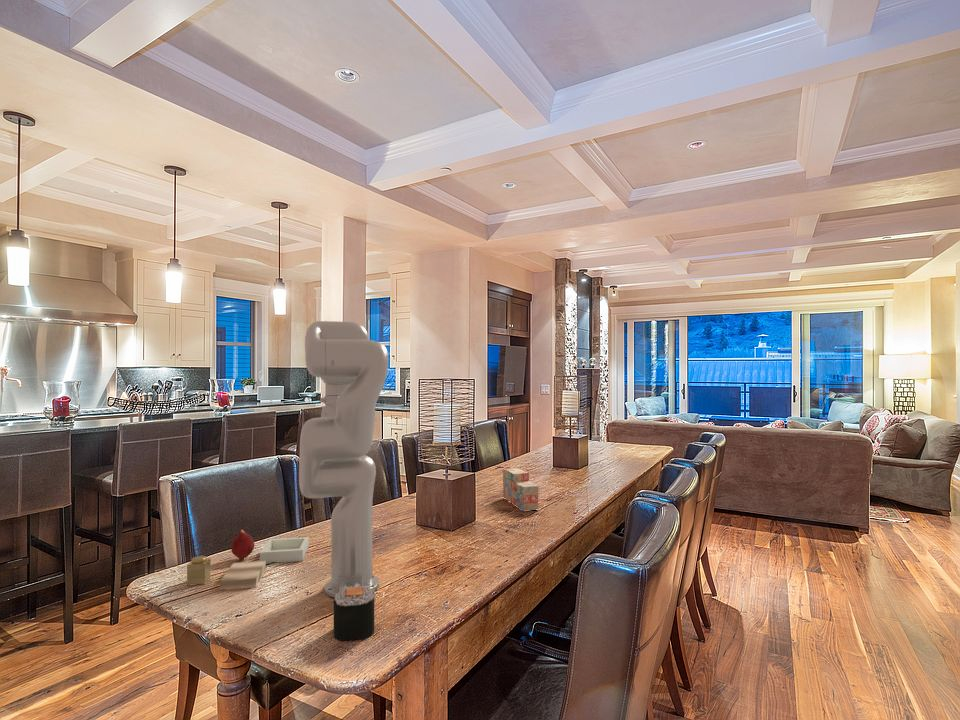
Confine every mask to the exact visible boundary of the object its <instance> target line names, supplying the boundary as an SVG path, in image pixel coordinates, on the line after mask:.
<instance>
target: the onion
mask: <svg viewBox="0 0 960 720" xmlns="http://www.w3.org/2000/svg"><path fill="white" fill-rule="evenodd" d="M254 549H255V541H254V539H253V537H252V536H251V535H250V534H248V533H247V532H245V531H244V529H241V530H240V533H239V534H238V535H237V536H236V537H235V538H233V540H232V542H231V545H230V550H231V553H232V554H233V555H234V556H235V557H237V558H238V559H240V560H241V559H243V560H245V559H246V558H247V557H248V556H250V555H251V554H252V553H253V551H254ZM244 558H245V559H244Z"/></svg>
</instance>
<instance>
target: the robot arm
mask: <svg viewBox="0 0 960 720" xmlns="http://www.w3.org/2000/svg"><path fill="white" fill-rule="evenodd" d="M304 350H305V351H304V352H305V365H306V369H307V371H308V373H309V374H310V375H311V376H313V377H315V378H320V379H321V380H322V382H323V383H324V385H325V387H324V388H325V389H324V390H325V391H324V392H325V396H324V397H320V399H319V402H320V403H324V406H322V409H321V414H320V417H312V418H310V419H308V420H306V421H305V422H304V423H303V425H302V428H301V431H300V437H299V457H298V458H299V462H298V463H299V467H298V471H299V472H298V485H299V490H300V493H301V495H302V496H303V497H304V498H306V499H322V498H335V497H338V498H339V497H341V498H340V500H339V501H338V502H337V504H336V505H335V507H334V508H333V510H332V513H331V518H330V519H331V520H330V528H331V529H330V531H331V533H330V535H331V536H330V537H331V540H330V541H331V542H330V543H331V548H330V550H331V553H330V554H331V555H330V556H331V557H330V559H331V560H330V561H331V562H330V567H331V575H330V576H331V578H330V579H329V580H327V581H326V583H325V584H324V593H325V594H326V595H327V596H329V597H332V598H334V596H335V595H337V594H338V592H339V591H340V590H341V591H342V588H343V589H346V588H347V587H348V586H349V587H350V586H352V588H353V587H354V586H356V587H357V588H358V584H359V585H360V586H362V585H363V586H368V587H369V588H370V589H371V588H373V591H374V590H375V591H376V590H377V589H378V588H379V586H380V580H379V578H378V577H377V576H376V575H374V574H373V503H374V502H373V498H374V491H375V490H374V489H375V484H376V483H375V481H376V475H377V466H376V463H375V461H374V460H373V459H372V457H371V456H368V455H367V454H368V453H369V452H370V450H371V447H372V444H373V438H374V427H375V419H376V418H375V417H376V406H377V403H378V400H379V397H380V395H381V392H382V390H383V388H384V385H385V382H386V379H387V375H388V371H389V353H388V349H387V348H386V346H385V345H384V344H383V343H381V342H379V341H376V340H372V339H369V333H368V331H367V329H366V328H365V327H364V326H363V325H362V324H360V323H357V322H352V321H334V320H333V321H330V320H329V321H328V320H324V321H323V320H318V321H317V320H316V321H315V322H312V323H311V324H310V325H309V326H308V328H307V330H306V332H305V337H304Z"/></svg>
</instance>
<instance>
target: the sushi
mask: <svg viewBox="0 0 960 720" xmlns="http://www.w3.org/2000/svg"><path fill="white" fill-rule="evenodd" d="M375 592H376V590H374V591H373V588H371V589H370V588H369V587H368V586H363V585H362V586H360V585H359V584H358V588H357V587H356V586H354V587H353V588H352V586H350V587H349V586H348V587H347V588H346V589H343V588H342V591H341V590H340V591H339V592H338V594H337V595H335V596H334V597H333V639H335V640H336V641H338V642H342V643H343V642H344V643H345V642H355V641H361V640H362V641H363V640H366V639H369V638H370V637H371V636H373V635H374V633H375V596H376V593H375Z"/></svg>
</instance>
